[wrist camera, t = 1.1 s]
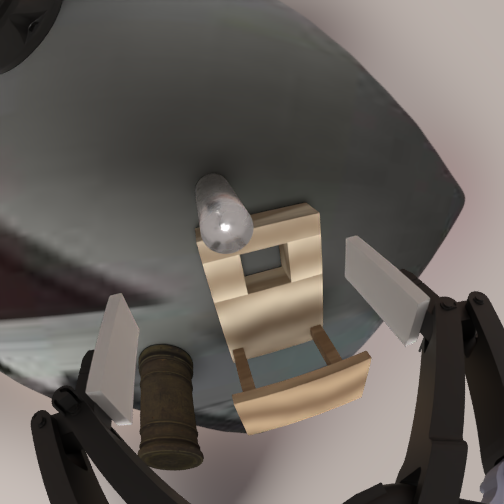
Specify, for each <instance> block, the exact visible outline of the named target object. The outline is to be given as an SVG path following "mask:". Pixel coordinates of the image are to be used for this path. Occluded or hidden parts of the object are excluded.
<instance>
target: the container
mask: <svg viewBox="0 0 504 504" xmlns="http://www.w3.org/2000/svg"><path fill="white" fill-rule="evenodd" d="M139 373H140V376H141V381H140V388H141V411H140V425H141V426H140V435H141V444H140V450H139V451H138V456H139V457H140V459H141V460H142V461H143V462H144V463H145V464H146V465H147V466H149V467H152V468H156V469H161V470H186V469H190V468H194V467H197V466H199V465H200V464H201V463H202V462H203V459H204V457H203V453H202V452H201V451H200V446H199V445H198V440H197V437H198V432H197V429H196V421H195V414H194V406H193V397H192V391H193V386H192V381H191V379H192V377H193V363H192V360H191V358H190V356H189V355H188V354H187V353H186V352H185V351H183V350H181V349H180V348H177V347H174V346H171V345H154V346H150V347H148V348H146V349H145V350H144V351H143V352H142V353H141V355H140V357H139Z"/></svg>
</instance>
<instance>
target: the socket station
mask: <svg viewBox="0 0 504 504" xmlns="http://www.w3.org/2000/svg"><path fill="white" fill-rule="evenodd" d="M250 216H251V218H252V221H253V227H254V228H253V234H252V237H251V239H250V241H249V242H248V244H247V245H246V246H245V247H243V248H242V249H241V250H239V251H237V252H234V253H230V254H221V253H217V252H214V251H212V250H211V249H209V248H208V247H207V246H206V245H205V243H204V242H203V240H202V237H201V232H200V227H199V228H195V233H196V242H197V246H198V249H199V253H200V257H201V260H202V264H203V267H204V271H205V274H206V277H207V281H208V284H209V288H210V291H211V294H212V297H213V301H214V304H215V307H216V310H217V314H218V317H219V320H220V323H221V326H222V329H223V333H224V336H225V339H226V342H227V345H228V348H229V351H230V354H231V357H232V360H233V363H234V362H235V363H236V367H237V371H238V375H239V379H240V383H241V387H242V390H243V392H242V393H238V394H233V395H232V398H233V402H234V405H235V407H236V410H237V412H238V414H239V416H240V418H241V421H242V423H243V425H244V427H245V429H246V431H247V433H248V435H252V434H257V433H260V432H264V431H268V430H272V429H275V428H278V427H282V426H285V425H288V424H292V423H295V422H297V421H300V420H304V419H307V418H310V417H312V416H315V415H318V414H321V413H323V412H326V411H329V410H331V409H334V408H336V407H339V406H341V405H344V404H346V403H349V402H351V401H353V400H356V399H358V398H360V397H361V396H362V393H363V390H364V386H365V382H366V378H367V375H368V371H369V366H370V362H371V356H370V355H369V354H368V352H367V351H364V352H362V353H359V354H357V355H354V356H352V357H350V358H347V359H344V360H342V358H341V357H340V355H339V353H338V352H337V350H336V349H335V347H334V345H333V344H332V342H331V341H330V339H329V337H328V336H327V334H326V333H325V331H324V329H323V284H322V251H321V230H320V214H319V212H318V211H316V210H315V209H314V208H312V207H311V206H310V205H308V204H307V203H301V204H297V205H292V206H288V207H283V208H279V209H274V210H270V211H265V212H261V213H256V214H252V215H250ZM276 245H279V249H280V257H281V265H282V267H279V268H275V269H271V270H267V271H264V272H260V273H256V274H252V275H248V276H244V274H243V269H242V264H241V260H240V254H244V253H248V252H252V251H256V250H260V249H264V248H268V247H272V246H276ZM310 340H314V342H315V344H316V346H317V347H318V349H319V351H320V353H321V355H322V356H323V358H324V360H325V362H326V364H327V365H328V366H326V367H323V368H321V369H318V370H315V371H312V372H309V373H306V374H303V375H300V376H297V377H294V378H291V379H288V380H285V381H281V382H278V383H275V384H271V385H268V386H264V387H261V388H257V389H255V385H254V382H253V379H252V375H251V372H250V369H249V365H248V362H247V359H250V358H254V357H257V356H261V355H264V354H268V353H271V352H275V351H278V350H281V349H285V348H288V347H291V346H294V345H298V344H301V343H304V342H307V341H310Z"/></svg>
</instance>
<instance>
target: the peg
mask: <svg viewBox="0 0 504 504" xmlns="http://www.w3.org/2000/svg"><path fill="white" fill-rule="evenodd" d="M195 196H196V203H197V211H198V218H199V225H200V232H201V237H202V240H203V242H204V243H205V245H206V246H207V247H208V248H209V249H211V250H212V251H214V252H217V253H221V254H230V253H234V252H237V251H239V250H241V249H242V248H243V247H245V246H246V245H247V244H248V242H249V241H250V239H251V237H252V234H253V228H254V227H253V221H252V218H251V216H250V215H249V213H248V212H247V210H246V208H245V207H244V205H243V204H242V202H241V201H240V199H239V198H238V196H237V195H236V193H235V192H234V190H233V189H232V187H231V186H230V184H229V183H228V181H227V180H226V179H225V178H224V177H223V176H221V175H219V174H214V173H212V174H207V175H205V176H203V177H202V178H201V179H200V180H199V181H198V182H197V184H196V187H195Z"/></svg>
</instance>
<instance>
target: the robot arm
mask: <svg viewBox="0 0 504 504" xmlns="http://www.w3.org/2000/svg"><path fill="white" fill-rule="evenodd" d="M61 3H62V0H0V74H2V73H4V72H7V71H9V70H10V69H12V68H14V67H15V66H17V65H18V64H19V63H21V62H22V61H23V60H24V59H25V58H26V57H28V56H29V55H30V54H31V53H32V52H33V50H34V49H35V48H36V47H37V46H38V45H39V44H40V42H41V41H42V40H43V38H44V37H45V36H46V34H47V33H48V31H49V30H50V28H51V26H52V25H53V23H54V21H55V19H56V17H57V15H58V12H59V9H60V6H61ZM345 278H346V279H347V280H348V281H349V282H350V283H351V284H352V285H353V286H354V287H355V289H356V290H357V291H358V292H359V293H360V294H361V295H362V297H363V298H364V299H365V300H366V301H367V302H368V303H369V304H370V306H371V307H372V308H373V309H374V310H375V311H376V313H377V314H378V315H379V316H380V317H381V318H382V320H383V321H384V322H385V323H386V324H387V325H388V327H389V328H390V329H391V330H392V331H393V332H394V334H395V335H396V336H397V337H398V338H399V340H400V341H401V342H402V343H403V344H404V346H405V347H406V346H408V345H410V344H412V343H414V342H416V341H417V339H418V336H419V333H421V334H422V335H423V336H424V338H423V340H422V343H421V346H420V349H419V352H421V349H422V355H421V368H420V379H419V387H418V395H417V402H416V409H415V414H414V420H413V426H412V431H411V436H410V441H409V445H408V449H407V453H406V457H405V461H404V463H403V465H402V467H401V469H400V471H399V473H398V476H397V479H396V482H395V484H386V485H382V483H379V484H377V485H375V486H373V487H371V488H369V489H367V490H365V491H362V492H360V493H358V494H356V495H354V496H353V497H351V498H350V499H348V500H347V501H346V502H344V503H343V504H504V328H503V326H502V324H501V322H500V320H499V318H498V316H497V314H496V312H495V310H494V308H493V306H492V304H491V302H490V301H489V299H488V298H487V296H486V295H485V294H483V293H481V292H476V291H474V292H471V293H470V294H469V296H468V299H467V301H461V302H456V301H455V300H454V299H452V298H450V297H439V296H438V295H437V294H435V293H434V292H433V291H432V290H431V289H430V288H429V287H428V286H426V285H425V284H424V283H422V281H421V280H419V279H418V278H417V277H416V276H415V275H414V274H413V273H411V272H409V271H407V270H405V269H401V270H398V269H397V268H396V267H395V266H393V265H392V264H391V263H390V262H389V261H388V260H386V259H385V258H384V257H383V256H382V255H380V254H379V253H378V252H377V251H375V250H374V249H373V248H372V247H371V246H369V245H368V244H367V243H366V242H364V241H363V240H362V239H361V238H359V237H358V236H357V235H356V236H353V237H349V238H346V260H345ZM138 337H139V327H138V325H137V323H136V322H135V320H134V318H133V316H132V314H131V312H130V310H129V308H128V305H127V303H126V301H125V299H124V297H123V295H122V293H120V294H115V295H111V296H110V297H109V300H108V303H107V307H106V310H105V313H104V317H103V320H102V324H101V327H100V331H99V335H98V338H97V342H96V346H95V350H89V351H87V353H86V354H85V356H84V357H83V360H82V364H81V368H80V372H79V376H78V380H77V384H76V389H75V390H74V389H73V388H72V387H71V386H62V387H60V388H59V389H57V390H56V391H55V393H54V395H53V397H52V406H53V407H54V408H55V409H56V410H57V411H58V412H59V413H57V414H54V415H50V414H49V413H48V412H47V411H45V410H40V411H38V412H37V413H35V414H34V416H33V417H32V420H31V430H32V435H33V441H34V446H35V451H36V455H37V460H38V464H39V468H40V471H41V475H42V479H43V482H44V485H45V489H46V491H47V495H48V498H49V501H50V503H51V504H109V503H108V501H107V499H106V497H105V495H104V493H103V491H102V489H101V487H100V485H99V482H98V480H97V478H96V476H95V473H94V471H93V469H92V466H91V464H90V461H89V459H88V456H89V457H90V458H91V460H92V461H93V463H94V464H95V465H96V467H97V468H98V469H99V471H100V472H101V473H102V474H103V476H104V477H105V478H106V480H107V481H108V482H109V483H110V485H111V486H112V487H113V488H114V489H115V490H116V491H117V493H118V494H119V495H120V496H121V497H122V499H123V500H124V501H125V502H126V503H127V504H190V503H189V502H188V501H187V500H185V499H184V498H183V497H182V496H180V495H179V494H178V493H177V492H176V491H175V490H173V489H172V488H171V487H170V486H169V485H168V484H167V483H165V482H164V481H163V480H162V479H161V478H160V477H159V476H158V475H157V474H156V473H154V471H153V470H152V469H150V468H149V467H148V466H147V465H146V464H145V463H144V462H143V461H142V460H141V459H140V457H139V456H138V455H137V454H136V453H135V452H134V451H133V450H132V449H131V448H130V447H129V446H128V445H127V444H126V443H125V442H124V440H123V439H122V438H121V437H120V436H119V434H118V433H117V432H116V431H115V430H114V429H113V428H112V427H111V422H112V421H111V420H113V421H114V422H115V423H116V424H117V425H131V424H132V412H133V393H134V378H135V366H136V355H137V346H138ZM465 375H466V379H467V383H468V387H469V391H470V395H471V400H472V404H473V409H474V414H475V419H476V425H477V431H478V438H479V445H480V452H481V460H482V465H483V469H484V473H485V475H486V476H485V478H484V481H483V482H482V483H481V485H480V491H481V493H484V495H483V499H482V501H481V502H475V501H470V500H465V499H460V498H459V497H460V493H461V488H462V483H463V478H464V472H465V466H466V460H467V452H468V445H467V442H466V441H464V440H463V425H464V409H465ZM86 453H87V454H88V456H87V454H86Z"/></svg>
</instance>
